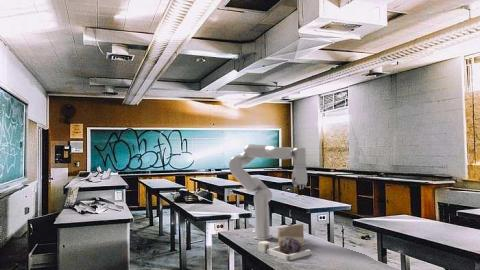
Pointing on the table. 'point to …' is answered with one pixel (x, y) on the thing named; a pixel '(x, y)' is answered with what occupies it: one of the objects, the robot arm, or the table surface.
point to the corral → (277, 253)
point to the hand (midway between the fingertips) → (300, 195)
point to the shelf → (291, 234)
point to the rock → (290, 246)
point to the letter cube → (263, 246)
